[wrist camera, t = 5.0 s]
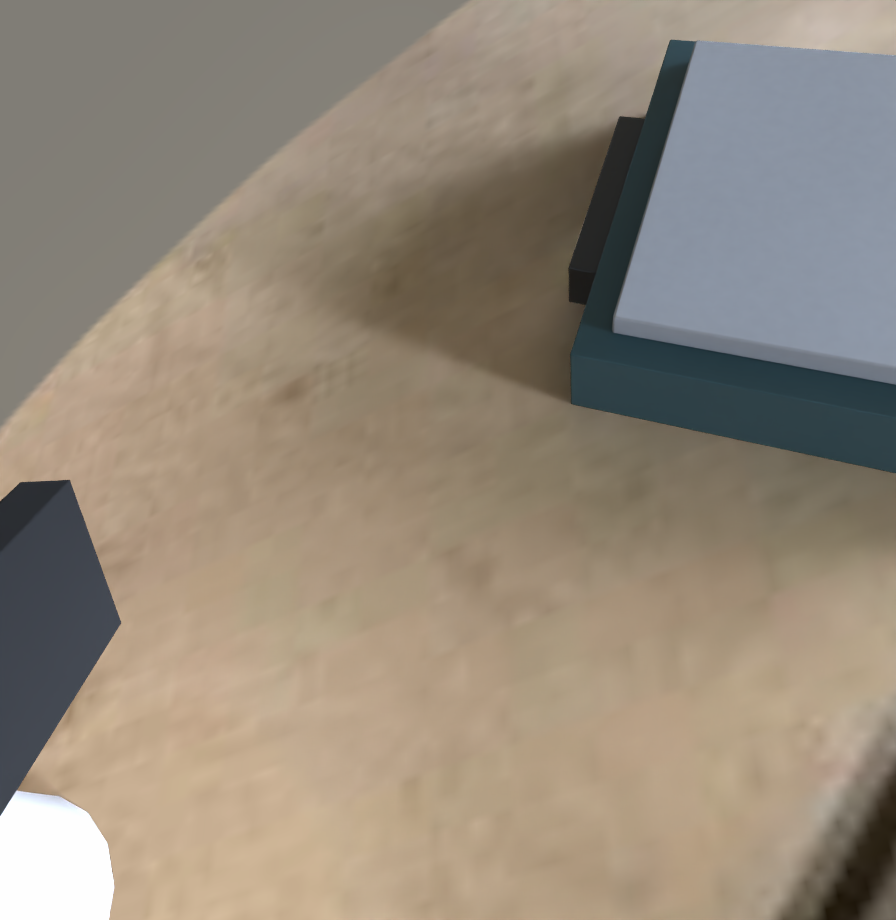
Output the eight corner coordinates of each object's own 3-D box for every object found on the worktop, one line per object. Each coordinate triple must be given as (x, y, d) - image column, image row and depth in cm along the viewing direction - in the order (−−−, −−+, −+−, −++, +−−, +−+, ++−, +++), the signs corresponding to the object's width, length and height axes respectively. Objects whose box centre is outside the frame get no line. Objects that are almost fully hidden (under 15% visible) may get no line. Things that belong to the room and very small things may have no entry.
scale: (541, 398, 25) (535, 332, 22) (637, 105, 30) (644, 16, 27) (1056, 507, 21) (1146, 448, 18) (1066, 148, 26) (1138, 49, 23)
